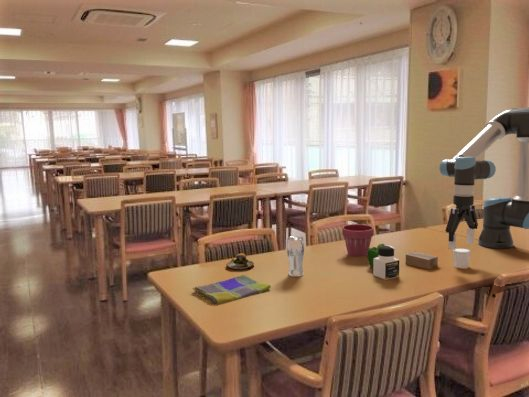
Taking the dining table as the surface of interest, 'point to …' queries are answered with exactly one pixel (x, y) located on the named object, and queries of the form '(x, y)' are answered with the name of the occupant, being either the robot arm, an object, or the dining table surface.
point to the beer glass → (295, 255)
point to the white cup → (461, 257)
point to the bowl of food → (240, 262)
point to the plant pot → (357, 239)
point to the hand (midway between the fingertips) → (461, 246)
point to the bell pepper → (373, 254)
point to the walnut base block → (422, 260)
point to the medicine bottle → (386, 263)
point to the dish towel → (231, 289)
